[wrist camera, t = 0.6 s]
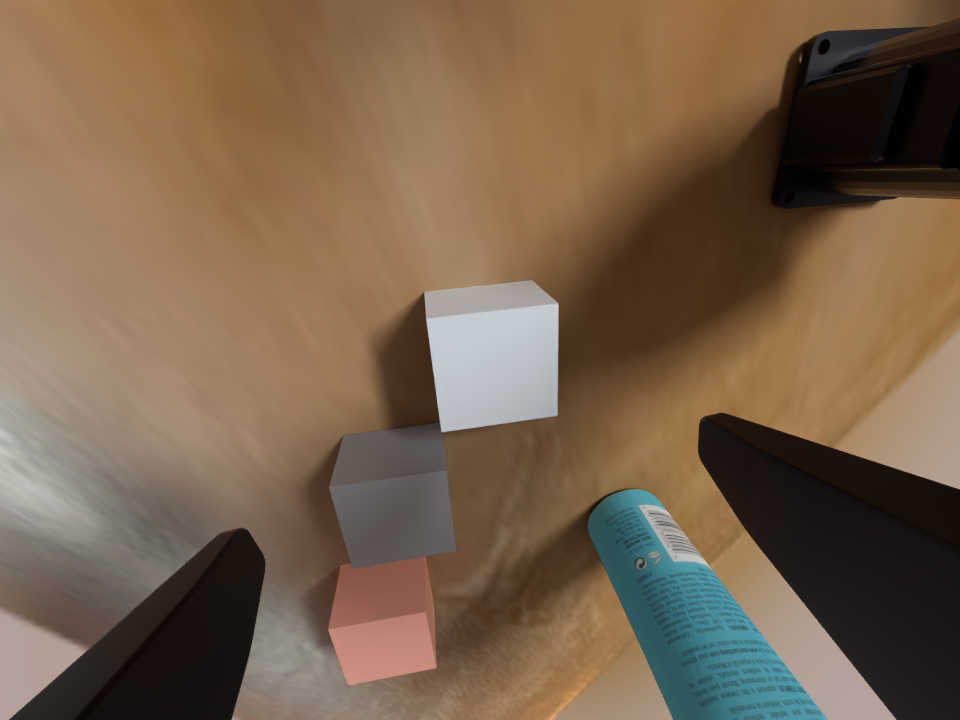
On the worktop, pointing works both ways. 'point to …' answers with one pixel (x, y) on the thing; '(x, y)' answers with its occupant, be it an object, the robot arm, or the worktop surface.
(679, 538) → the tube
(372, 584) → the coral brick
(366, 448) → the charcoal brick
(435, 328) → the white brick
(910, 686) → the robot arm
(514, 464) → the worktop surface
